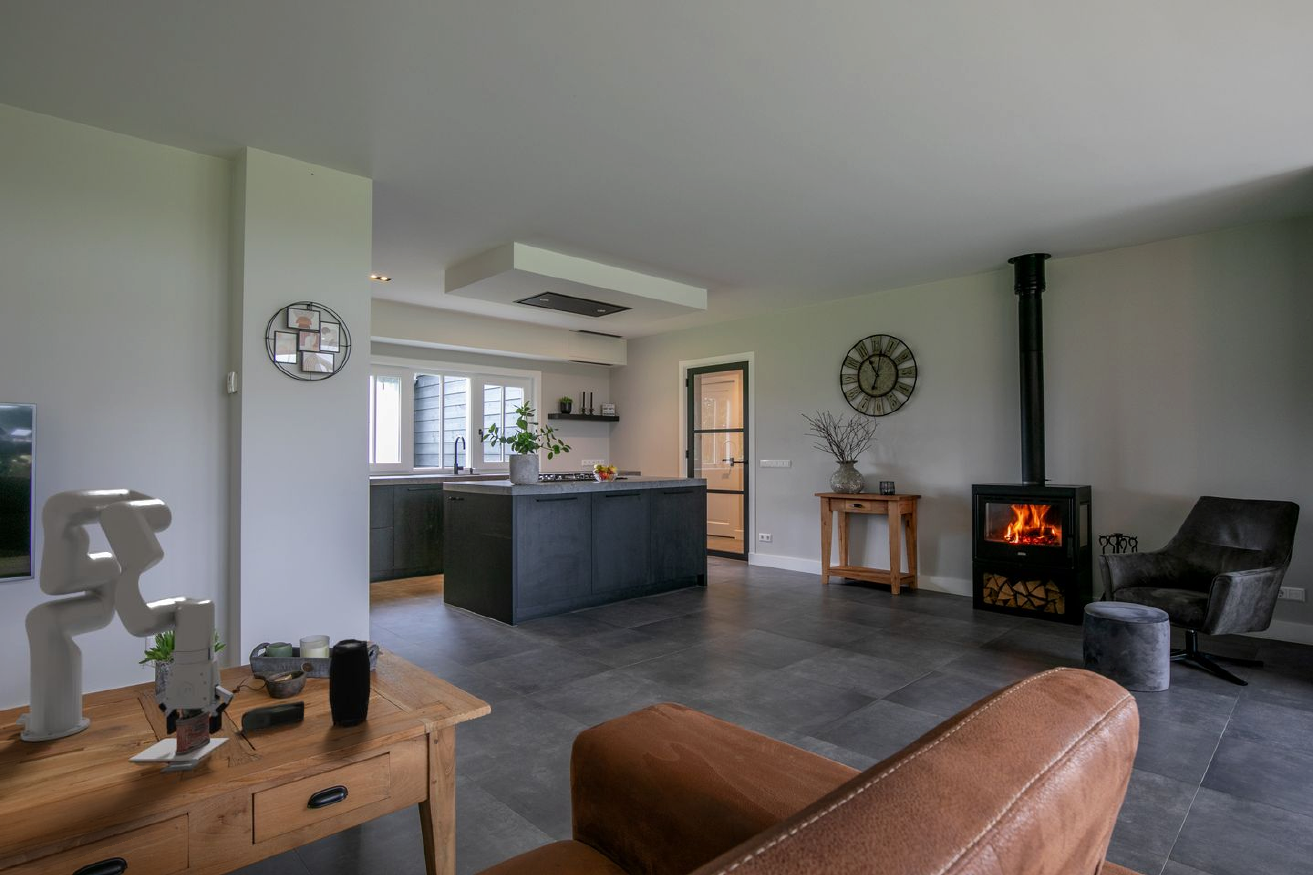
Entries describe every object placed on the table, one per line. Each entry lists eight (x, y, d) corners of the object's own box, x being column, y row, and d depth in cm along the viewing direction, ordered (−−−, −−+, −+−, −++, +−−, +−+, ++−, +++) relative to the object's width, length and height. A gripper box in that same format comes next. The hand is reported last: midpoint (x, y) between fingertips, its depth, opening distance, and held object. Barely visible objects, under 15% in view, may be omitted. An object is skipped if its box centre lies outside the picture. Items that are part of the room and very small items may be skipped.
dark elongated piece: (303, 698, 175) (234, 711, 165) (306, 701, 172) (236, 714, 163) (302, 718, 174) (233, 732, 165) (305, 721, 172) (235, 736, 163)
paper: (128, 761, 150) (128, 759, 150) (165, 740, 161) (165, 738, 161) (197, 760, 150) (197, 758, 150) (229, 739, 161) (229, 738, 161)
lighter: (184, 756, 151) (184, 710, 151) (171, 755, 151) (171, 709, 152) (214, 741, 159) (214, 697, 159) (201, 740, 159) (201, 696, 160)
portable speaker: (377, 717, 173) (377, 639, 174) (345, 731, 165) (346, 649, 165) (353, 712, 177) (353, 636, 177) (321, 725, 169) (321, 645, 169)
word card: (160, 772, 144) (160, 770, 144) (170, 764, 148) (170, 762, 148) (191, 770, 145) (191, 768, 145) (200, 761, 149) (201, 759, 149)
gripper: (144, 660, 152) (143, 739, 151) (222, 660, 152) (221, 738, 151) (168, 650, 159) (167, 725, 159) (243, 650, 159) (242, 725, 159)
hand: (194, 731), depth 155 cm, fingers open, 9 cm apart
